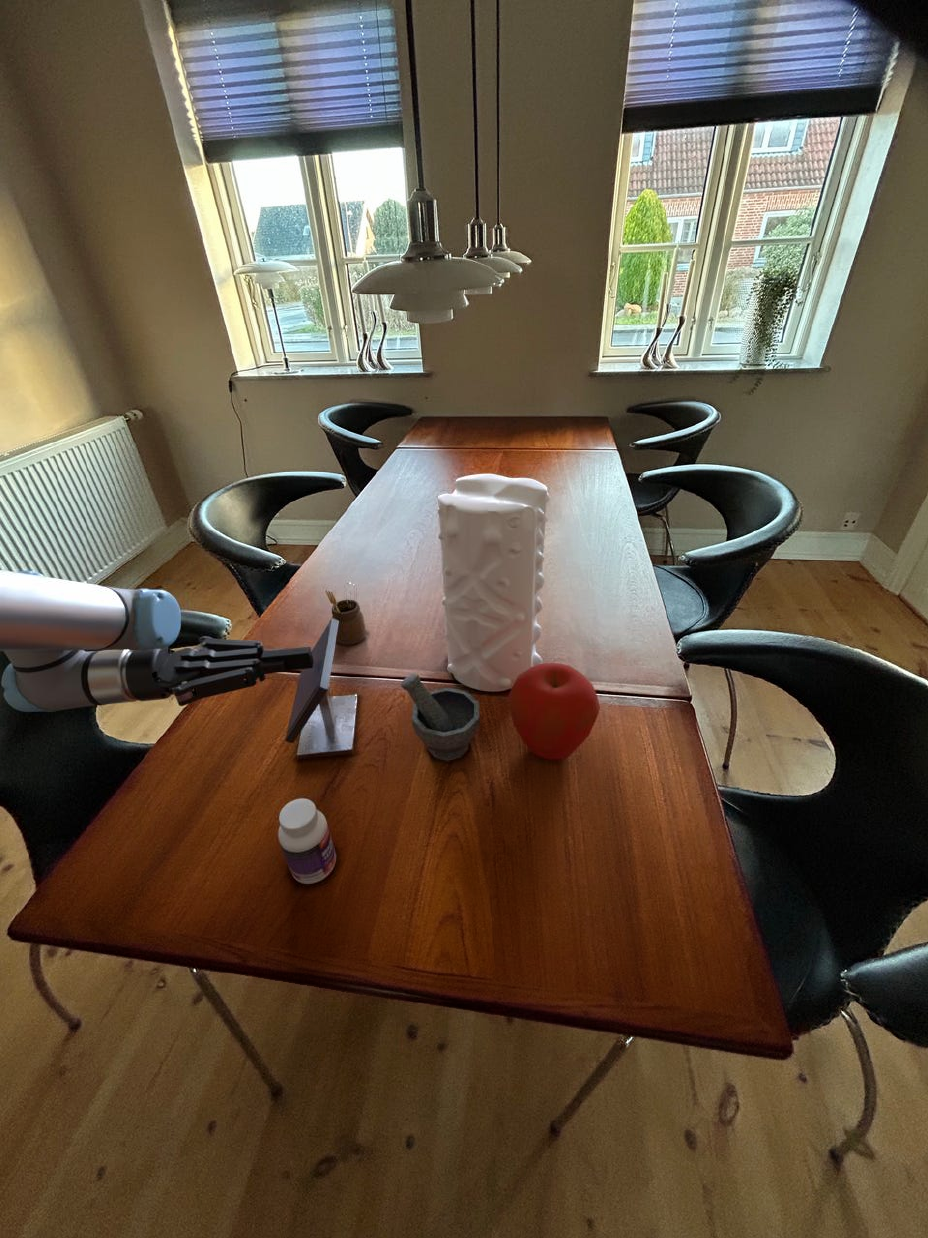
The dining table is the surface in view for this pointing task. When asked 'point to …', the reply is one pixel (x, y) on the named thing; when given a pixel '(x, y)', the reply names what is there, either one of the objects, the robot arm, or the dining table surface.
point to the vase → (492, 577)
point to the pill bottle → (306, 841)
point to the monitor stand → (329, 728)
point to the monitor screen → (313, 682)
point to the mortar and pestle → (443, 718)
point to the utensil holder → (348, 619)
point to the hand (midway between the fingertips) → (311, 657)
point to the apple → (553, 709)
